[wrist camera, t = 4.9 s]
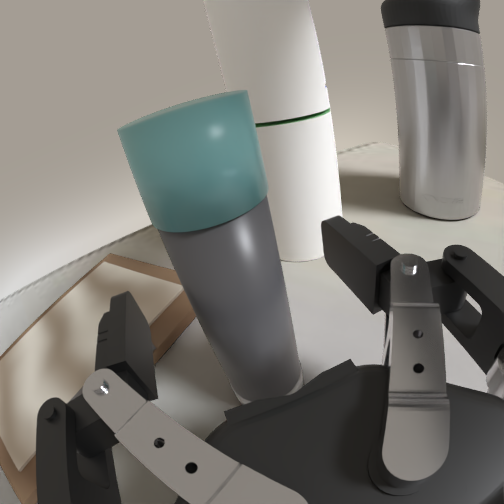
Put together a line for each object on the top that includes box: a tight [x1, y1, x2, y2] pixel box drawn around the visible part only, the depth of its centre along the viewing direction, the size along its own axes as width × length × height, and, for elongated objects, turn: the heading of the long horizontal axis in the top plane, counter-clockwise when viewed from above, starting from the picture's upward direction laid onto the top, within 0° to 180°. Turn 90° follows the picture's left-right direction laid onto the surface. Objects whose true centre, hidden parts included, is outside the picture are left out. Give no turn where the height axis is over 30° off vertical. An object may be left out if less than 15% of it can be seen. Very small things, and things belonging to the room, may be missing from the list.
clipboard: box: [0, 253, 196, 504], centre depth 19 cm, size 22×15×2 cm
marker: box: [117, 90, 303, 405], centre depth 12 cm, size 4×4×14 cm
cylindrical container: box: [203, 0, 342, 262], centre depth 20 cm, size 7×7×25 cm
